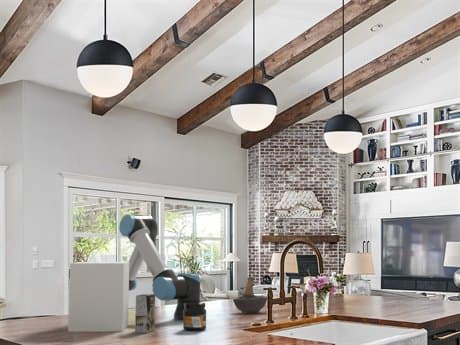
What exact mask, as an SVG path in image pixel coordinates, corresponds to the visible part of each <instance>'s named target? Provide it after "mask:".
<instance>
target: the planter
mask: <svg viewBox="0 0 460 345" xmlns="http://www.w3.org/2000/svg"><path fill="white" fill-rule="evenodd" d="M254 280H255V278H254V277H253V276H248V278H247V282H246V288H245V292H244V295H242V296H241V295H240V296H238V297H234V298H232V301H233V303H234V305H235V307H236V309H237V310H239V311H240V312H241V313H242V314H254V313H255V314H256V313H259V312H260V311H261V310H262V309H263V308H264V307H265V306H266V303H267V302H268V299H267V296H266V295H265V296H264V295H261V296H260V295H259V296H258V295H257V296H256V295H255V294H254V293H255V292H254Z"/></svg>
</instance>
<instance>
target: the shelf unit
mask: <svg viewBox="0 0 460 345" xmlns="http://www.w3.org/2000/svg"><path fill="white" fill-rule="evenodd" d="M68 282H69V285H68V286H69V289H68V293H69V294H68V319H67V321H68V323H67V324H68V325H67V326H68V327H67V332H69V333H72V332H73V333H75V332H77V333H79V332H80V333H81V332H87V333H88V332H91V333H92V332H99V333H100V332H101V333H102V332H105V333H106V332H111V333H112V332H123V331H125V330H126V329H127V327H128V326H129V307H130V306H129V303H130V302H129V301H130V300H129V298H130V297H129V296H130V294H129V293H130V291H129V261H77V262H76V261H75V262H71V263H69V281H68Z"/></svg>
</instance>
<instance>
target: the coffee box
mask: <svg viewBox="0 0 460 345" xmlns="http://www.w3.org/2000/svg"><path fill="white" fill-rule="evenodd" d="M155 304H156V296H155V294H154V293H152V294H151V293H150V294H149V293H147V294H146V293H145V294H137V295H135V323H134V325H135V326H134V327H135V329H134V333H138V334H139V333H143V334H144V333H145V334H147V333H151V332H153V331H155V329H156V326H155V324H156V318H155V316H156V305H155Z"/></svg>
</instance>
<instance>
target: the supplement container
mask: <svg viewBox="0 0 460 345" xmlns="http://www.w3.org/2000/svg"><path fill="white" fill-rule="evenodd" d="M184 307H185V309H184V310H183V320H182V322H183V325H182V327H183V330H184V331H186V332H202V331H205V330H206V329H207V310H206V309H205V308H206V302H201V301H200V302H188V303H185V304H184Z"/></svg>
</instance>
